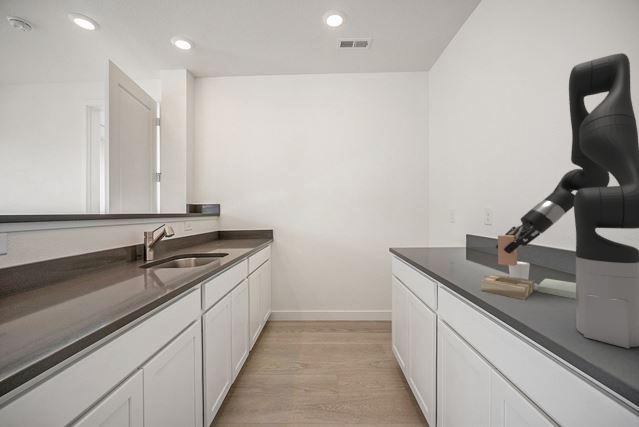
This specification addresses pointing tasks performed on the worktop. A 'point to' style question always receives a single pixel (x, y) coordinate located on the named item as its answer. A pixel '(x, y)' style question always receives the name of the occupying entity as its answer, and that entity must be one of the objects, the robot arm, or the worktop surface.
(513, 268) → the white cube
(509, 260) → the terracotta block
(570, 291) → the sage tile platform
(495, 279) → the birch holder
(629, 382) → the worktop surface
